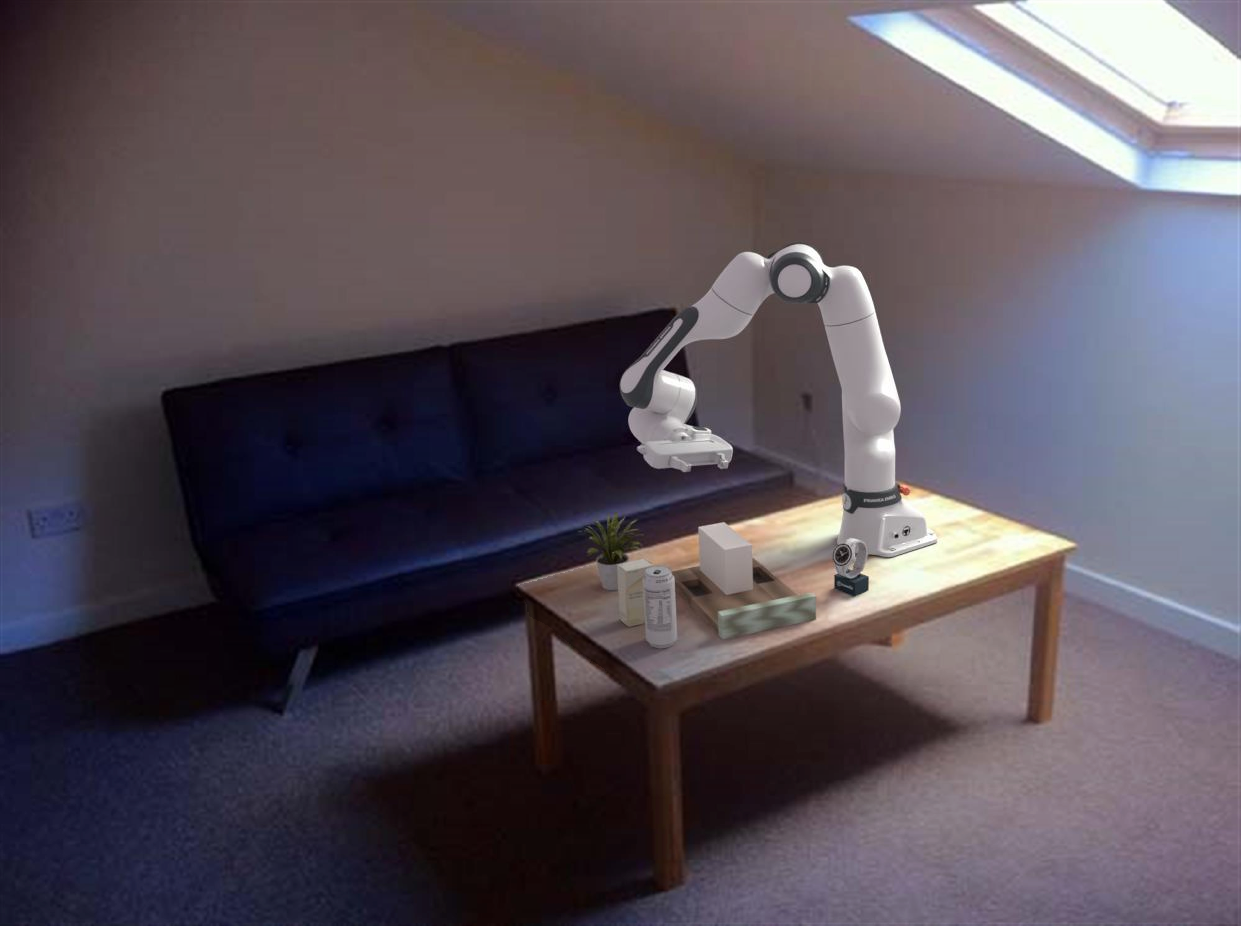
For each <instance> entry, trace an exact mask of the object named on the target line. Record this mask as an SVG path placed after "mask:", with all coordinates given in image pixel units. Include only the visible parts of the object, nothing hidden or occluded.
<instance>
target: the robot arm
mask: <svg viewBox="0 0 1241 926" xmlns="http://www.w3.org/2000/svg"><path fill="white" fill-rule="evenodd" d="M772 294H775V295H776V296H777V297H778V298H779V299H781V300H782V301H784V302H785V303H790V304H809V305H810V304H812V305H815V304H817V305H818V307H819V310H820V313H821V316H822V320H823V321H822V322H823V325H824V329H825V333H826V336H827V340H828V344H829V349H830V352H831V357H832V360H833V363H834V366H835V370H836V374H837V376H838V381H839V384H840V387H841V406H842V408H841V411H842V430H843V445H844V449H843V450H844V481H843V483H842V495H841V497H842V500H841V501H842V502H841V503H842V509H843V511H842V518H841V524H840V529H839V533H838V535H837V536H838V537H837V539H836V543H837V545H839V544H841V543H842V542H843V541H845V540H847V539H849V538H854V539H857V540H860V541H863V542H864V543H865V544H866V546H867V554H868V555H873V556H879V557H884V558H894V557H896V556H898V555H901V554H905V553H908V552H911V551H914V550H917V549H922V548H923V547H926V546H929V545H933V544H935V543H937V542H938V536H937V534H936V532H935V531H933V530H932V529H931V528H929V527H928V526H927V520H926V516H925V514H924V513H923V512H922V511H921V510H920V509H919V508H917V507H916V506H915V505H914V504H912V503H911V502H909V501H908V500H906V499H904V498H903V497H902V494H903V495H904V496H907V497H908V496H909V495H910V494H911V493H912V492H911V491H912V489H911V488H910V486H907V485H905V484H902V485H901V484H900V483H898V482H897V481H896V445H895V435H894V434H895V433H894V429H895V427H896V426H897V425H898V423H899V420H900V417H901V412H902V411H901V410H902V408H901V402H900V397H899V394H898V389H897V386H896V383H895V380H894V376H893V375H894V374H893V373H892V368H891V365H890V363H889V359H888V355H887V353H886V349H885V346H884V341H883V337H882V333H881V329H880V325H879V320H878V317H877V313H876V309H875V305H874V301H873V299H872V295H871V292H870V290H869V287H868V284H867V283H866V280H865V278H864V276H863V274H862V272H861V270H860V269H858V268H857V267H855V266H850V265H839V266H835V267H832V266H831V267H830V266H827V265H826V264H824V259H823V257H822V254H821V253H820V252H819V250H818V249H817V248H816V247H815V246H813V245H811V244H809V243H806V242H801V241H800V242H799V241H798V242H793V243H790V244H787V245H784V246H783V247H781V248H780V249H778V250H776V251H774V252H772V253H770V254H769V255H768V256H767V257H764V256H762V255H761V254H759V253H756V252H752V251H744V252H741V253H738V254H737V255H736V256H735V257H734V258H733V259H732V260H731V261H730V262H729V263H728V264H727V266H726V267H725V268H724V269H723V271H722V272H721V273H720V274H719V275H718V277H717V278H716V279H715V281H714V283H713V284H712V285H711V287H710V289H709V290H708V291H707V293H706V294H705V295H704V296H703V297H701V298H700V299H699V300H698V301H697V302H695V303H693V304H692V305H691V306H688V307H685V308H683V309H681V310H680V311H679V312H678V313H677V314H676V315H675V316H674V317H673V318H672V320H670V322H669V323H668V324H667V325H666V327H665V328H664V329H663V330H662V331H661V332H660V333H659V334H658V336H657V337H656V338H655V339H654V341H653V342H651V344H650V345H649V346H648V348H646V350H645V351H644V352H643V354H641V356H640V357H639V358H637V359H636V360H635V361H634V362H633V363H632V364H631V365H629V366H628V367H627V368H626V369H625V371H624V372H623V373H622V375H621V377H620V381H619V391H620V395H621V398H622V399H623V401H624V403H625V404H626V405H627V406H628V407H631V408H632V409H631V410H630V412H629V415H628V421H627V422H628V426H629V430H630V432H631V433H632V434H633V436H634V437H635V438H636V439H637V440H638V442H640V443H641V444H640V445H639V446H637V447H636V450H637V451H638V452H639V453H640V454H642V455H643V459H644V461H645V462H646V463H647V464H648V465H649V466H650V467H652V468H654V469H657V470H660V469H670V468H673V469H676V470H680V471H681V472H683V473H689V472H691V470H692V467H694V466H695V467H696V466H707V465H717V468H719V469H720V470H723V469H726V470H727V469H728V467H729V463H730V462H731V461H732V457H733V453H734V451H733V450H734V449H733V446H732V445H731V444H730V443H728V442H727V441H726V440H724V439H723V438H721V437H720V436H718V435H716V434H713V433H712V430H711V429H710V428H707V427H701V426H693V425H689V424H686V423H687V422H688V421H689V419H690V418H691V417H692V415H693V414H694V411H695V409H696V407H697V402H698V391H697V388H696V386H695V383H694V381H693V380H692V379H690V378H688V377H685V376H683V375H680V374H677V373H675V372H670V371H667V370H664V369H665V368H666V367H667V365H668V364H670V362H671V361H672V360H673V359H674V357H676V355H677V354H678V353H679V352H680V351H681V349H682V348H684V346H686V345H689V344H690V343H691V344H692V343H693V342H697V341H698V342H699V341H704V340H724V339H729V338H730V339H731V338H733V337H736V336H737V335H739V334H740V333H741V332H742V331H743V330H744V329H745V328H746V327H747V326H748V325H749V323H750V322H751V320H752V319H753V317H754V315H755V314H756V313H757V311H758V309H759V307H761V306H762V304H763V302H764V301H765V299H767V298H768V297H769V296H771V295H772ZM855 545H856V548H855V554H857V552H858V551H859V546H858V543H856V544H855Z"/></svg>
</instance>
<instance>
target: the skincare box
mask: <svg viewBox="0 0 1241 926" xmlns="http://www.w3.org/2000/svg"><path fill="white" fill-rule="evenodd" d="M652 566H654V565H653V564H652V563H651V562H650V561H648V560H647V559H646V558H641V559H635V560H629V562H625V563H621V564H617V574H618V590H617V591H618V607H619V620H620V621H621V622H622V623H623V624H625V626H627V627H628V628H630V627H634V626H639V625H643V624H644V625H645V613H644V596H643V577H644V575H645V571H646V569H647V568H649V567H652Z"/></svg>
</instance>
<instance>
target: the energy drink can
mask: <svg viewBox="0 0 1241 926" xmlns="http://www.w3.org/2000/svg"><path fill="white" fill-rule="evenodd" d="M671 571H672V570H671V568H670V567H669V566H666V565H653V566H652V567H649V568H647V569H646V571H645V575H644V577H643V596H644V613H645V623H644V626H645V629H644V630H645V640H646V641H647V642H648V644H649V646H650V647H653V648H656V649H667V648H670V647H672V646H673V645H674V644H675V642H676V641H677V639H678V627H677V625H678V624H677V605H676V590H675V580H674V576H673V575H672V573H671Z"/></svg>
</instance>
